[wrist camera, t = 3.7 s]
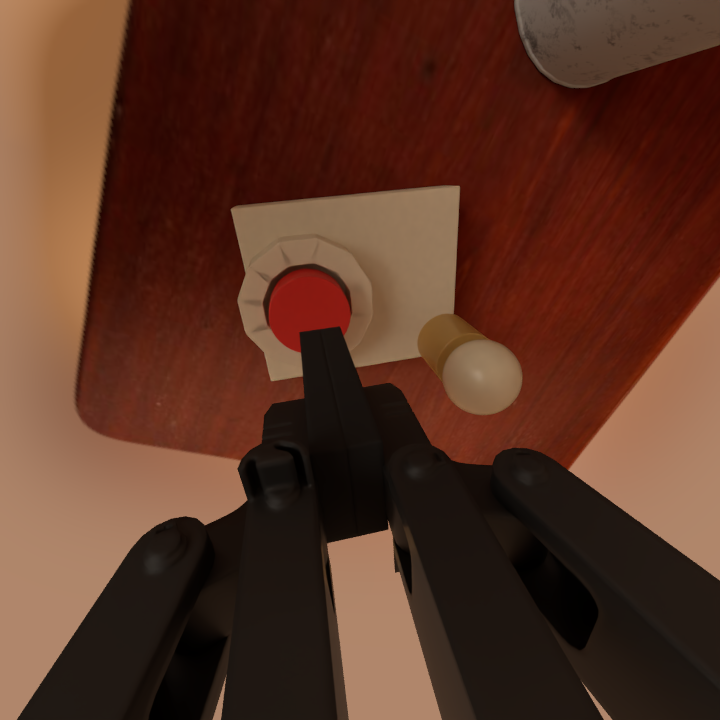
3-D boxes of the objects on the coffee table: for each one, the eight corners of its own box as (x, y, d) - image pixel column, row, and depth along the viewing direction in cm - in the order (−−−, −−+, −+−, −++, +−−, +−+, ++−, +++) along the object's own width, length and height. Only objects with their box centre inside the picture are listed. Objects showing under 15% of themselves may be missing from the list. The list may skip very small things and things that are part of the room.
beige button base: (227, 206, 19) (214, 212, 16) (444, 185, 21) (476, 186, 17) (265, 366, 24) (262, 398, 20) (439, 339, 25) (464, 364, 22)
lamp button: (262, 273, 17) (260, 282, 16) (341, 263, 18) (346, 271, 16) (277, 345, 19) (277, 359, 18) (348, 334, 20) (354, 347, 18)
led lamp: (413, 314, 20) (465, 367, 14) (473, 305, 20) (546, 353, 15) (413, 370, 21) (460, 437, 16) (469, 360, 22) (533, 423, 16)
